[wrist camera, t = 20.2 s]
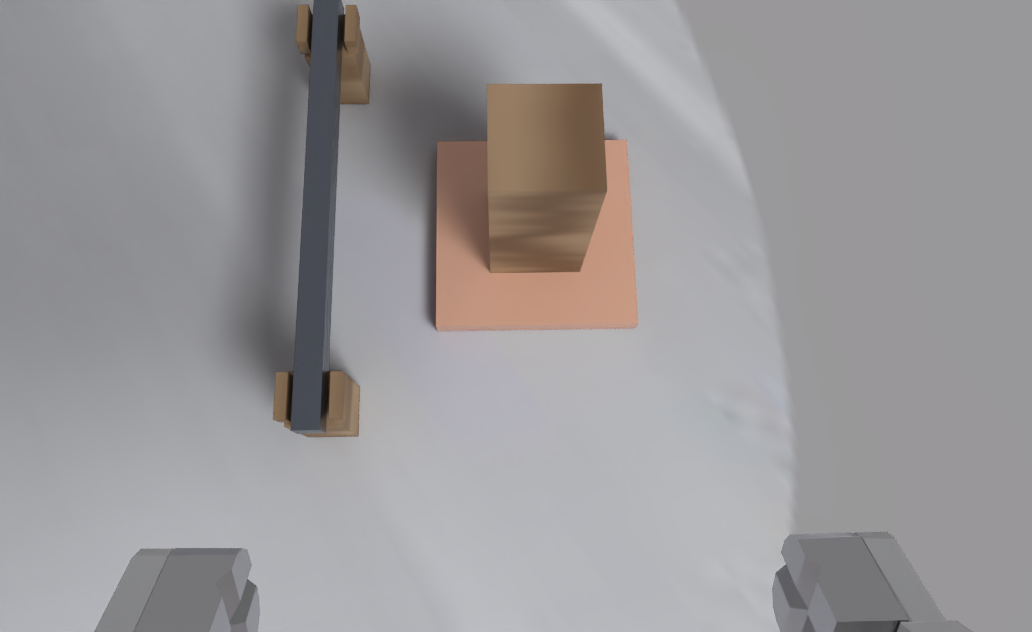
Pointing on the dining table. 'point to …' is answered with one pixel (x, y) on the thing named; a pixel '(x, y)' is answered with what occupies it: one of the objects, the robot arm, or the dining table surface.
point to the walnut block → (544, 175)
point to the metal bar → (318, 222)
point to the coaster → (528, 296)
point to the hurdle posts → (353, 91)
